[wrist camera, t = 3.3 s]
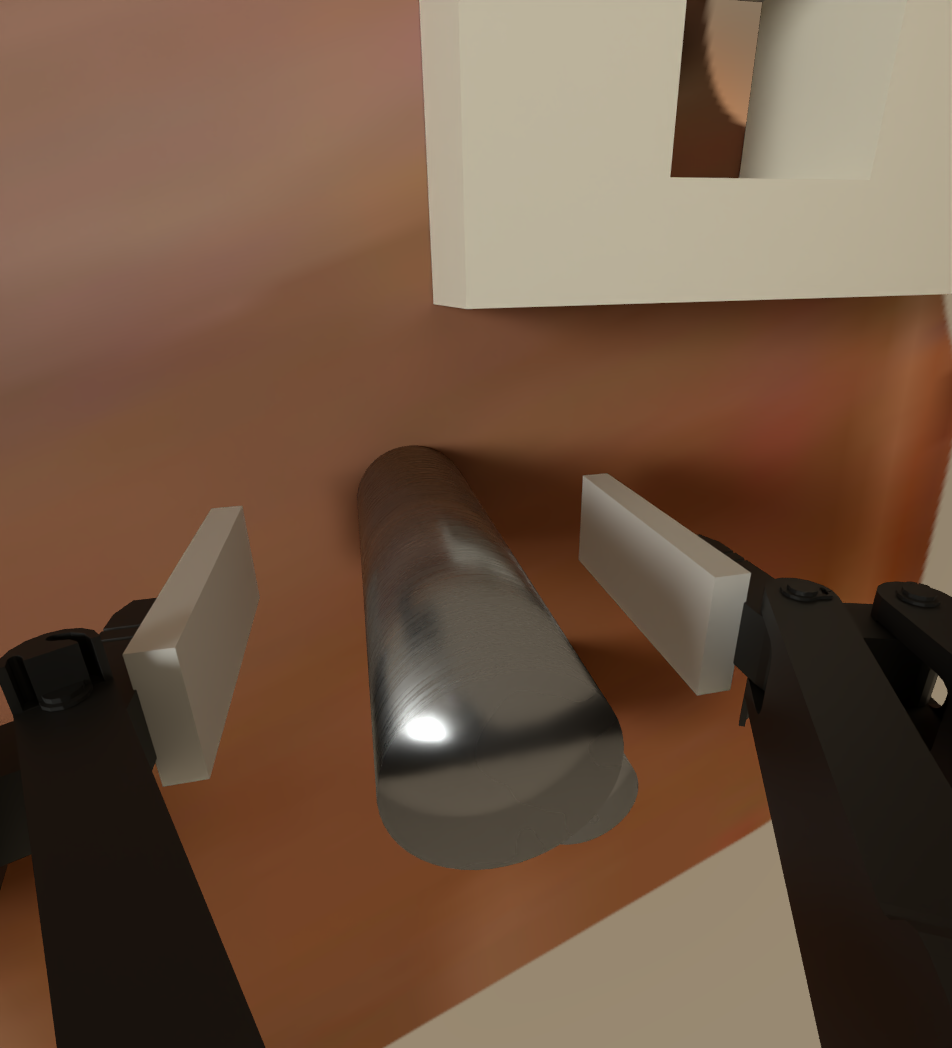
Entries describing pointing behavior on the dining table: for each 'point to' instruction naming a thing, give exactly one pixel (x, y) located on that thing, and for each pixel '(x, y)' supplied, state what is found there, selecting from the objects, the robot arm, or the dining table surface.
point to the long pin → (470, 680)
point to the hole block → (647, 145)
